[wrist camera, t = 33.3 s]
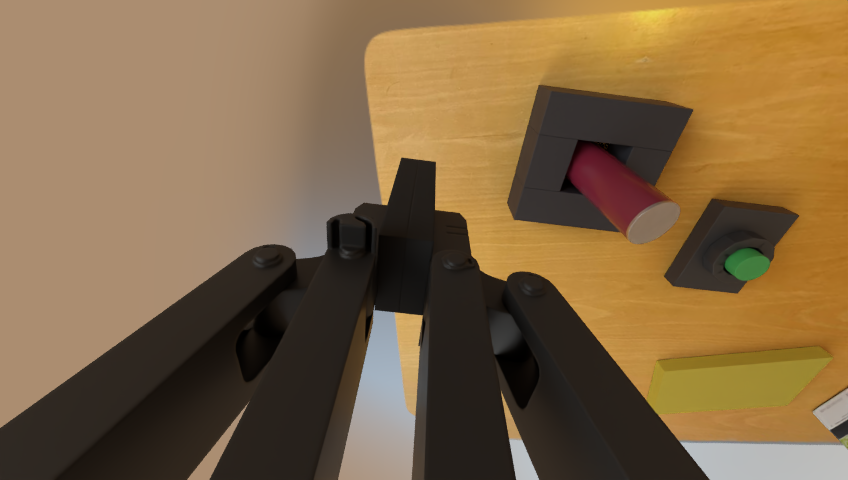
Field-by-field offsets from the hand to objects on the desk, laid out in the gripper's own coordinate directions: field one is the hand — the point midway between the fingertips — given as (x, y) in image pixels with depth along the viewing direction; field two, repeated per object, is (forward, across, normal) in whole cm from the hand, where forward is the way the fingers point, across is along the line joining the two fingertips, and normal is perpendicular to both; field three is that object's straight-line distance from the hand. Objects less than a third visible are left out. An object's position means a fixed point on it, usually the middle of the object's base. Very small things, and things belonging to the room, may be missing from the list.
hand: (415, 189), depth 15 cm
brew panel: (+24, +40, -13) cm, 49 cm away
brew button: (+21, +40, -13) cm, 47 cm away
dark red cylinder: (+24, +17, -4) cm, 30 cm away
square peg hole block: (+24, +18, -4) cm, 31 cm away
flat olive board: (+25, +56, -38) cm, 72 cm away
